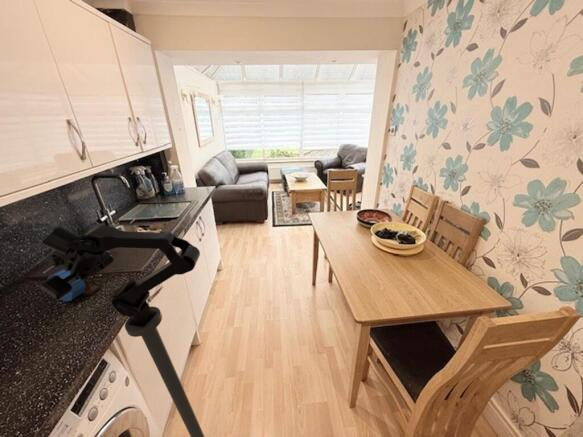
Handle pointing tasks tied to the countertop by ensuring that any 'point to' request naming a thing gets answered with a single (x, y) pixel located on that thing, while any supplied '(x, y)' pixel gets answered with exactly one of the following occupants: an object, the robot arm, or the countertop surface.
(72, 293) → the blue toy wheel
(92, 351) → the countertop surface
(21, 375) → the countertop surface
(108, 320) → the countertop surface
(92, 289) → the tape stand
